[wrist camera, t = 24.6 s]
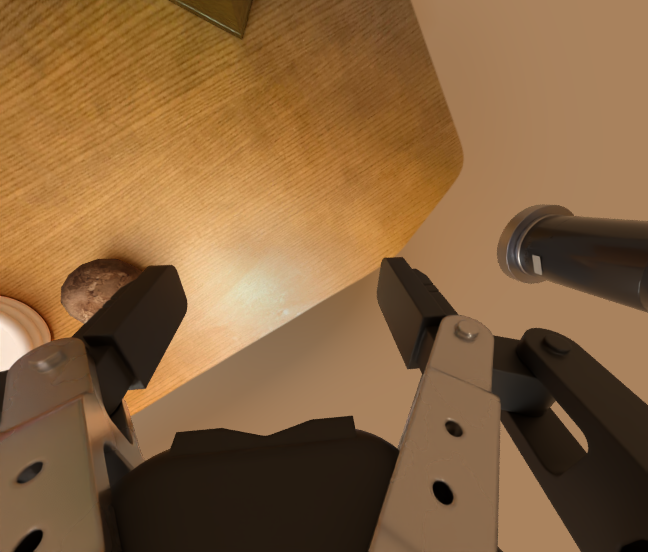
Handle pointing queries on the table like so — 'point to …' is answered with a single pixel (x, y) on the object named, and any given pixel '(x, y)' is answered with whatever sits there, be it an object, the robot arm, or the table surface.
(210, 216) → the table surface
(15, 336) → the white round flat piece
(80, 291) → the mushroom
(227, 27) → the open box
